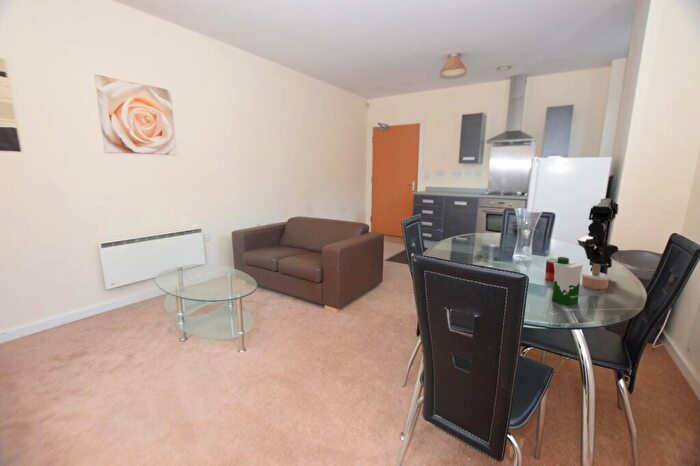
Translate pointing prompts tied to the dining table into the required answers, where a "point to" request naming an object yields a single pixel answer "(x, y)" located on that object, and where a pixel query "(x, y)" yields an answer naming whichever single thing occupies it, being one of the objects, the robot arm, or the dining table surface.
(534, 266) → the dining table surface
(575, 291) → the milk carton
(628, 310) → the dining table surface
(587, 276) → the lid
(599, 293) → the mat
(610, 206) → the robot arm
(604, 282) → the bowl
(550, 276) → the canned food
